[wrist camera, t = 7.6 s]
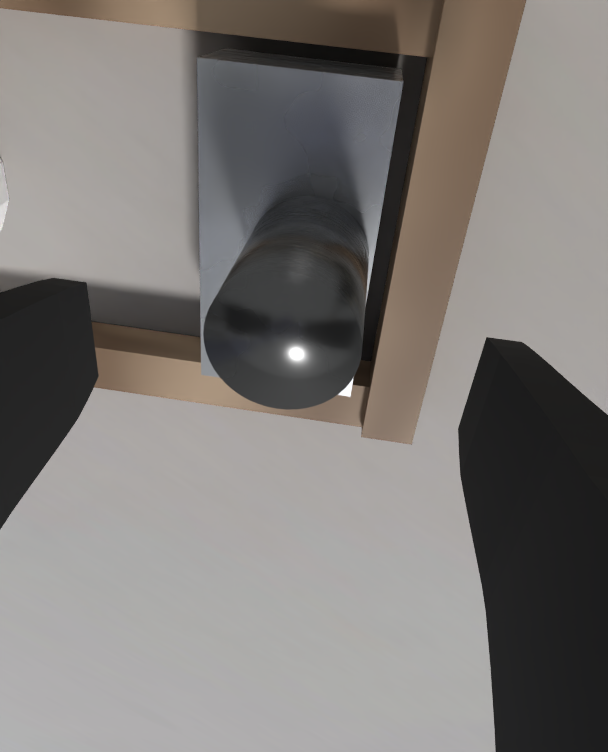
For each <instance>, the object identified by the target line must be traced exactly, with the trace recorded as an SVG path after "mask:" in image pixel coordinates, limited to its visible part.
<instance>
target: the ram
mask: <svg viewBox="0 0 608 752" xmlns="http://www.w3.org/2000/svg"><path fill="white" fill-rule="evenodd" d="M402 87H403V75H402V69H399V68H390V67H381V66H373V65H364V64H356V63H347V62H338V61H330V60H321V59H312V58H304V57H295V56H287V55H278V54H269V53H261V52H252V51H244V50H235V49H226V48H223V49H220V50H217V51H214V52H211V53H209V54H206V55H203V56H200V57H197V93H198V170H199V246H200V323H201V375H205V376H212V377H219V378H221V379H222V380H223V381H224V382H225V383H226V384H227V385H228V386H229V387H230V388H231V389H232V390H234V391H235V392H237V393H238V394H239V395H241V396H243V397H244V398H246V399H248V400H250V401H252V402H255V403H257V404H260V405H263V406H266V407H271V408H276V409H285V410H294V409H304V408H309V407H313V406H316V405H319V404H322V403H324V402H326V401H328V400H330V399H332V398H333V397H335V396H336V395H342V396H349V397H350V396H351V390H352V384H353V378H354V376H355V374H356V372H357V369H358V367H359V364H360V360H361V356H362V345H363V332H364V319H365V307H366V301H367V295H368V289H369V283H370V277H371V271H372V265H373V259H374V254H375V248H376V242H377V236H378V230H379V224H380V218H381V212H382V206H383V200H384V194H385V188H386V182H387V176H388V170H389V165H390V159H391V153H392V147H393V141H394V135H395V129H396V123H397V117H398V111H399V105H400V99H401V93H402Z"/></svg>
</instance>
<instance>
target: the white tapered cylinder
mask: <svg viewBox="0 0 608 752" xmlns="http://www.w3.org/2000/svg"><path fill="white" fill-rule="evenodd" d="M8 203H9V195H8V189H7V183H6V178H5V172H4V166H3V162H2V160H1V158H0V231H1V230H2V228H3V224H4V220H5V215H6V211H7V207H8Z"/></svg>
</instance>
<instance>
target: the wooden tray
mask: <svg viewBox="0 0 608 752" xmlns="http://www.w3.org/2000/svg"><path fill="white" fill-rule="evenodd" d="M525 3H526V0H0V8H4V9H12V10H21V11H30V12H39V13H47V14H56V15H65V16H73V17H82V18H91V19H99V20H108V21H117V22H126V23H134V24H143V25H152V26H160V27H169V28H178V29H187V30H195V31H204V32H213V33H221V34H230V35H239V36H248V37H256V38H265V39H274V40H282V41H291V42H300V43H309V44H317V45H326V46H335V47H343V48H352V49H361V50H370V51H378V52H387V53H396V54H404V55H413V56H422V57H427V61H426V67H425V72H424V78H423V83H422V88H421V94H420V99H419V104H418V110H417V115H416V121H415V126H414V131H413V137H412V142H411V148H410V153H409V158H408V164H407V169H406V175H405V180H404V185H403V191H402V196H401V202H400V207H399V212H398V218H397V223H396V228H395V234H394V239H393V245H392V250H391V255H390V261H389V266H388V272H387V277H386V282H385V288H384V293H383V299H382V304H381V309H380V315H379V320H378V326H377V331H376V336H375V342H374V347H373V352H372V358H371V361H364V360H360V364H359V367H358V369H357V372H356V374H355V376H354V378H353V384H352V390H351V396H350V397H349V396H342V395H336V396H335V397H333V398H332V399H330V400H328V401H326V402H324V403H322V404H319V405H316V406H313V407H309V408H304V409H294V410H285V409H276V408H271V407H266V406H263V405H260V404H257V403H255V402H252V401H250V400H248V399H246V398H244V397H243V396H241V395H239V394H238V393H237V392H235V391H234V390H232V389H231V388H230V387H229V386H228V385H227V384H226V383H225V382H224V381H223V380H222V379H221V378H219V377H212V376H205V375H201V337H196V336H189V335H182V334H175V333H168V332H161V331H154V330H147V329H140V328H133V327H126V326H119V325H112V324H105V323H98V322H92V329H93V337H94V344H95V352H96V359H97V367H98V374H99V377H98V379H97V381H96V383H95V385H94V387H95V388H102V389H109V390H116V391H122V392H129V393H136V394H142V395H149V396H156V397H163V398H169V399H176V400H183V401H189V402H196V403H203V404H210V405H216V406H223V407H230V408H237V409H243V410H250V411H257V412H263V413H270V414H277V415H284V416H290V417H297V418H304V419H310V420H317V421H324V422H331V423H337V424H344V425H351V426H357V427H362V434H361V437H365V438H371V439H378V440H385V441H391V442H398V443H405V444H411V445H412V441H413V437H414V433H415V429H416V425H417V421H418V418H419V414H420V410H421V406H422V402H423V398H424V394H425V390H426V387H427V383H428V379H429V375H430V371H431V367H432V363H433V359H434V356H435V352H436V348H437V344H438V340H439V336H440V332H441V328H442V325H443V321H444V317H445V313H446V309H447V305H448V301H449V297H450V294H451V290H452V286H453V282H454V278H455V274H456V270H457V266H458V263H459V259H460V255H461V251H462V247H463V243H464V239H465V235H466V232H467V228H468V224H469V220H470V216H471V212H472V208H473V204H474V201H475V197H476V193H477V189H478V185H479V181H480V177H481V173H482V170H483V166H484V162H485V158H486V154H487V150H488V146H489V142H490V139H491V135H492V131H493V127H494V123H495V119H496V115H497V112H498V108H499V104H500V100H501V96H502V92H503V88H504V84H505V81H506V77H507V73H508V69H509V65H510V61H511V57H512V53H513V50H514V46H515V42H516V38H517V34H518V30H519V26H520V22H521V19H522V15H523V11H524V7H525Z"/></svg>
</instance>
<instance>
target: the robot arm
mask: <svg viewBox="0 0 608 752" xmlns="http://www.w3.org/2000/svg"><path fill="white" fill-rule="evenodd" d="M98 377H99V374H98V367H97V359H96V352H95V344H94V337H93V329H92V321H91V314H90V306H89V299H88V291H87V284H86V282H78V281H71V280H64V279H56V278H52V279H47V280H42V281H38V282H34V283H30V284H27V285H23V286H20V287H17V288H14V289H11V290H8V291H5V292H2V293H0V529H1V528H2V526H3V524H4V523H5V521H6V520H7V518H8V517H9V515H10V514H11V512H12V511H13V509H14V508H15V507H16V505H17V504H18V502H19V501H20V500H21V498H22V497H23V495H24V494H25V493H26V491H27V490H28V488H29V487H30V486H31V484H32V483H33V481H34V480H35V479H36V477H37V476H38V475H39V473H40V472H41V470H42V469H43V468H44V466H45V465H46V463H47V462H48V461H49V459H50V458H51V456H52V455H53V454H54V452H55V451H56V449H57V448H58V447H59V445H60V444H61V442H62V441H63V439H64V438H65V437H66V435H67V434H68V432H69V431H70V429H71V428H72V427H73V425H74V424H75V422H76V421H77V419H78V417H79V415H80V414H81V412H82V410H83V408H84V406H85V404H86V402H87V400H88V398H89V396H90V394H91V392H92V390H93V388H94V385H95V383H96V381H97V379H98ZM458 433H459V458H460V475H461V481H462V486H463V492H464V497H465V502H466V507H467V513H468V518H469V523H470V528H471V533H472V538H473V543H474V548H475V553H476V558H477V563H478V568H479V573H480V578H481V583H482V589H483V596H484V602H485V609H486V619H487V630H488V642H489V654H490V665H491V680H492V695H493V710H494V725H495V745H496V752H608V415H607V414H606V413H605V412H603V411H602V410H601V409H600V408H599V407H597V406H596V405H595V404H594V403H593V402H592V401H590V400H589V399H588V398H587V397H586V396H585V395H583V394H582V393H581V392H580V391H579V390H578V389H577V388H575V387H574V386H573V385H572V384H571V383H570V382H569V381H568V380H566V379H565V378H564V377H563V376H562V375H561V374H560V373H559V372H557V371H556V370H555V369H554V368H553V367H552V366H551V365H550V364H548V363H547V362H546V361H545V360H544V359H543V358H542V357H540V356H539V355H538V354H537V353H536V352H535V351H533V350H532V349H531V348H529V347H528V346H527V345H525V344H524V343H522V342H517V341H510V340H502V339H495V338H488V337H487V338H486V341H485V344H484V347H483V351H482V354H481V357H480V360H479V364H478V367H477V370H476V373H475V376H474V380H473V383H472V386H471V389H470V393H469V396H468V399H467V402H466V405H465V409H464V412H463V415H462V418H461V421H460V425H459V428H458Z"/></svg>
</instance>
